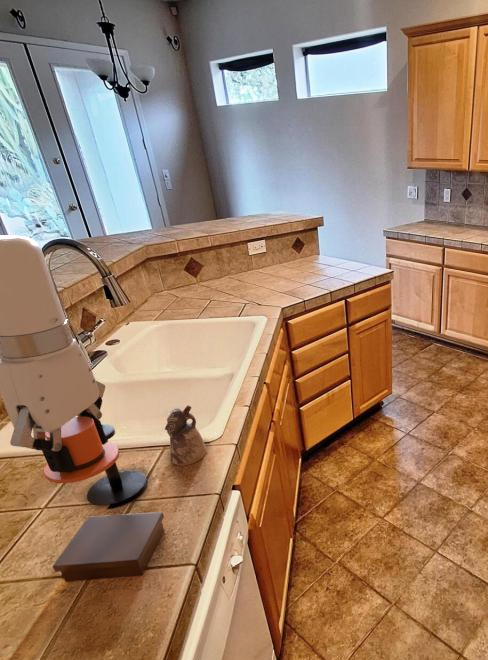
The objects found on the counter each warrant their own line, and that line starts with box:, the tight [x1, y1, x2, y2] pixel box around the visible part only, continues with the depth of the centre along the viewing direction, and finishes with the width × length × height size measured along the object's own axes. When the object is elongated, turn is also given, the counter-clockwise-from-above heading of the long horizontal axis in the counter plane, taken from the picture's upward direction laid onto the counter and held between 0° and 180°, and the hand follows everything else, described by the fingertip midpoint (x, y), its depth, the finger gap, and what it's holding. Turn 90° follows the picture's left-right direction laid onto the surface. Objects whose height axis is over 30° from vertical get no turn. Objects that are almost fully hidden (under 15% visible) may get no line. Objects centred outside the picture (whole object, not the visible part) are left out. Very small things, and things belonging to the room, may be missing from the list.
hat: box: [43, 416, 120, 484], centre depth 61 cm, size 9×9×6 cm
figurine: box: [164, 405, 206, 467], centre depth 92 cm, size 7×7×12 cm
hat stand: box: [86, 423, 149, 510], centre depth 81 cm, size 10×10×14 cm
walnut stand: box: [52, 511, 165, 583], centre depth 70 cm, size 12×10×4 cm
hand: (80, 455), depth 62 cm, fingers closed on hat, 5 cm apart
